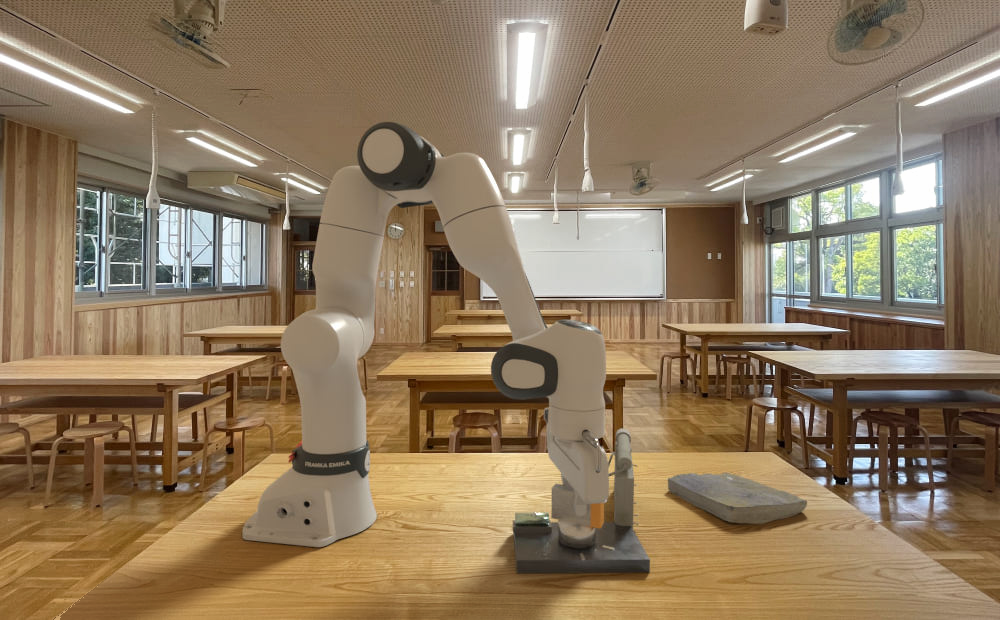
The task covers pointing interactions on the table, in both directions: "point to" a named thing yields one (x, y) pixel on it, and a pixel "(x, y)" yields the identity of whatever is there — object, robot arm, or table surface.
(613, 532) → the stand
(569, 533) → the knob
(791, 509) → the grey stone slab
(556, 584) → the table surface
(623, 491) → the geiger counter
